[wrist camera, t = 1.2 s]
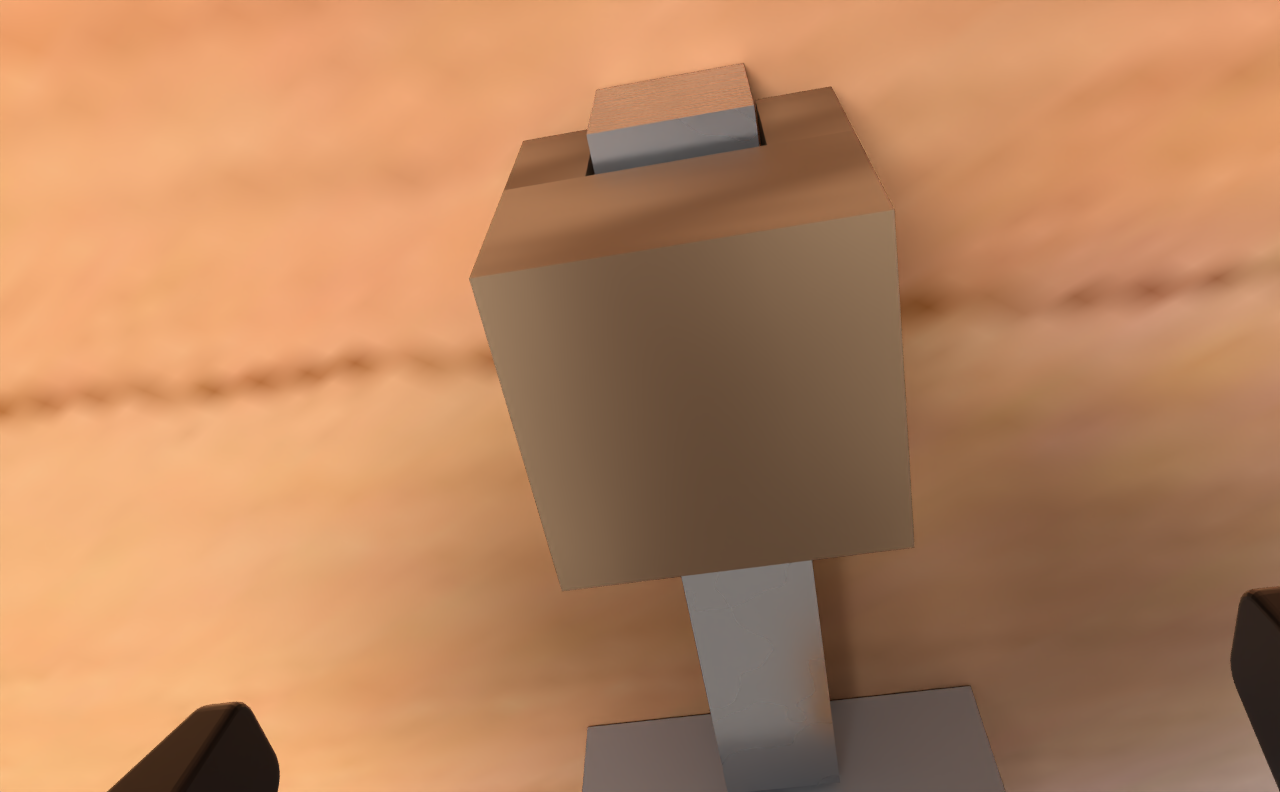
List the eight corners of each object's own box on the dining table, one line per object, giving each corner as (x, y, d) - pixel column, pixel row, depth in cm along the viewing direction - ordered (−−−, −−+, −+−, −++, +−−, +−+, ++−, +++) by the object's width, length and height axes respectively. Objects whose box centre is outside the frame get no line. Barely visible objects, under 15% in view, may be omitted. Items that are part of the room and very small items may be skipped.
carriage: (831, 86, 16) (894, 209, 12) (854, 359, 19) (915, 547, 14) (523, 140, 17) (468, 278, 12) (587, 398, 19) (562, 591, 15)
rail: (743, 63, 16) (753, 104, 14) (825, 695, 24) (839, 782, 22) (596, 89, 17) (586, 134, 15) (723, 706, 24) (728, 793, 22)
